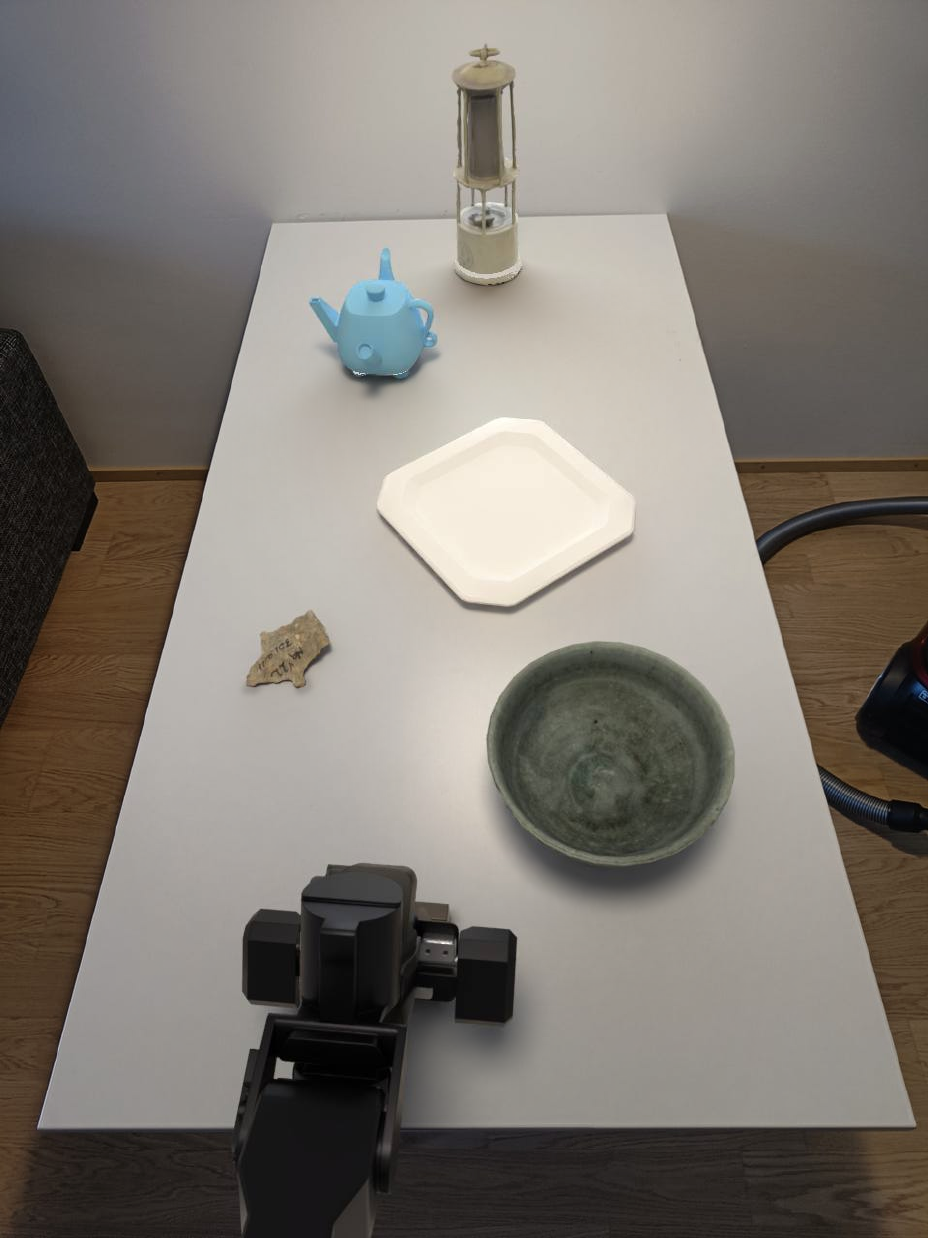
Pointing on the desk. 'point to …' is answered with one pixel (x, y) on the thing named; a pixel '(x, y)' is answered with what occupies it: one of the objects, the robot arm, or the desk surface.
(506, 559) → the plate
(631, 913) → the desk surface
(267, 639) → the artifact
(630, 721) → the bowl
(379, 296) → the teapot
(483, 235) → the lamp
